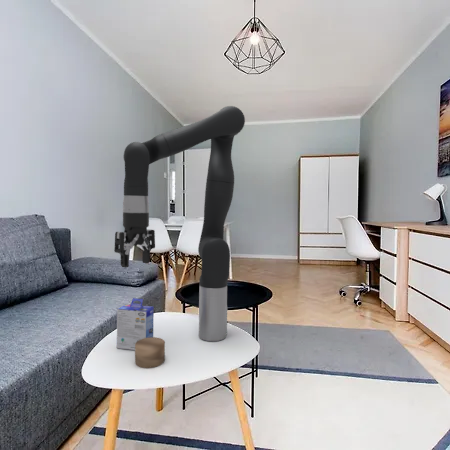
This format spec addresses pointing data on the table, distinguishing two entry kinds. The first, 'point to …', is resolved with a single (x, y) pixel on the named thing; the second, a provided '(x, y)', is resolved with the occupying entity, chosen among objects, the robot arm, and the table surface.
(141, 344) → the walnut block
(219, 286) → the robot arm
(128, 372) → the table surface
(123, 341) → the ink cartridge box
